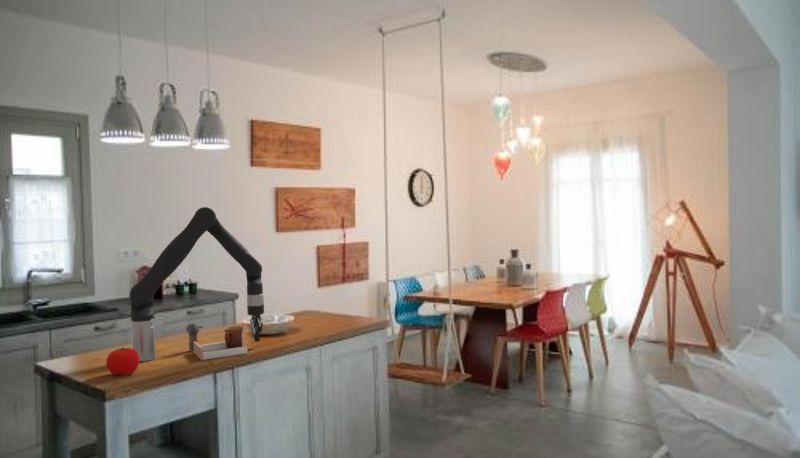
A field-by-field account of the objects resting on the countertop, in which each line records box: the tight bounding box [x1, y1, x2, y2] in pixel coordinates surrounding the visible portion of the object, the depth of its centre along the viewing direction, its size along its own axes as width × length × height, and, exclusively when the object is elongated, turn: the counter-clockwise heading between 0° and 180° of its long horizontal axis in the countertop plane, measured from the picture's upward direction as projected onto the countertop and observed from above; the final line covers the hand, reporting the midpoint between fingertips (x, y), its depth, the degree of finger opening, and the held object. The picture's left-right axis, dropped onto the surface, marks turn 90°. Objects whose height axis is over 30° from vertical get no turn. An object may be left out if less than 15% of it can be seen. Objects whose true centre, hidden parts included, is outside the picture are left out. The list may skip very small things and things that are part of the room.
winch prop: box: [185, 322, 203, 353], centre depth 271 cm, size 7×4×12 cm, turn 120°
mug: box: [223, 325, 245, 349], centre depth 268 cm, size 12×9×10 cm
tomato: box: [105, 347, 141, 376], centre depth 234 cm, size 11×12×10 cm
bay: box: [193, 341, 249, 361], centre depth 265 cm, size 20×16×5 cm
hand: (257, 341), depth 274 cm, fingers closed
